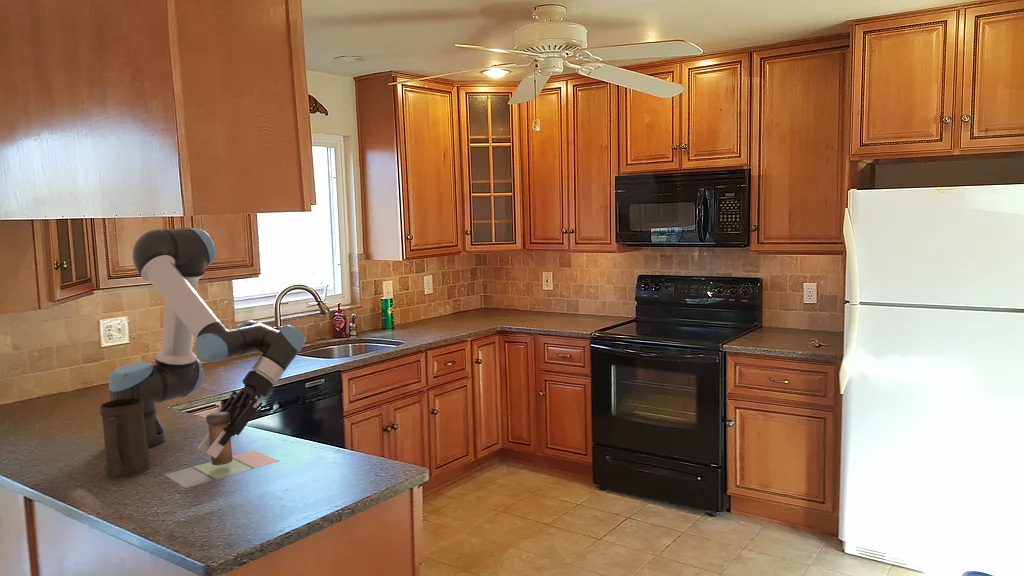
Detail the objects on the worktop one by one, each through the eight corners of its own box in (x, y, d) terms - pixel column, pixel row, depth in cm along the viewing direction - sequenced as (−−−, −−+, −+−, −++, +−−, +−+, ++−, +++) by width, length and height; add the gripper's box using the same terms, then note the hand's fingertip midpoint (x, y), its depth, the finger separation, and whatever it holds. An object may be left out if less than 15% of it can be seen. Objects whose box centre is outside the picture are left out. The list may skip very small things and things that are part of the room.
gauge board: (164, 479, 183) (164, 474, 183) (255, 454, 200) (254, 449, 200) (186, 493, 173) (185, 487, 173) (279, 465, 190) (278, 460, 190)
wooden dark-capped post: (206, 462, 186) (202, 415, 185) (228, 456, 190) (224, 410, 189) (215, 467, 182) (211, 419, 181) (237, 461, 186) (233, 414, 185)
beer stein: (109, 471, 191) (100, 399, 188) (154, 464, 195) (146, 393, 191) (99, 495, 177) (89, 417, 173) (148, 487, 181) (139, 411, 177)
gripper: (288, 389, 189) (232, 468, 179) (257, 380, 201) (203, 453, 191) (268, 373, 184) (209, 453, 175) (237, 365, 197) (181, 438, 187)
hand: (206, 453), depth 183 cm, fingers closed on wooden dark-capped post, 5 cm apart
